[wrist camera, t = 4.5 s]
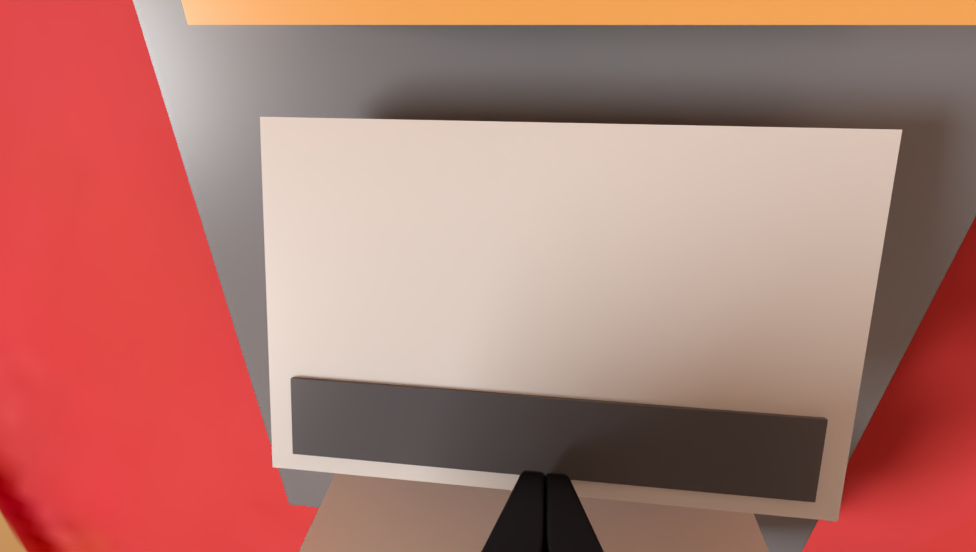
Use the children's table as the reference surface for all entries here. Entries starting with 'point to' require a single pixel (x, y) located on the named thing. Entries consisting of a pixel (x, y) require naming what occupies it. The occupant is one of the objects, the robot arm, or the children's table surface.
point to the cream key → (475, 510)
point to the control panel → (579, 99)
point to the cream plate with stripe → (574, 304)
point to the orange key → (580, 12)
